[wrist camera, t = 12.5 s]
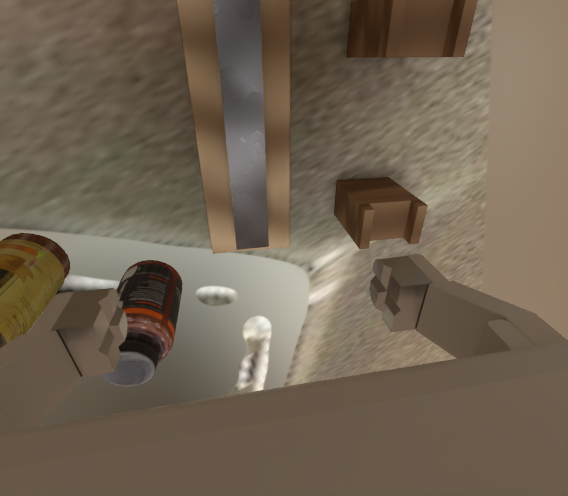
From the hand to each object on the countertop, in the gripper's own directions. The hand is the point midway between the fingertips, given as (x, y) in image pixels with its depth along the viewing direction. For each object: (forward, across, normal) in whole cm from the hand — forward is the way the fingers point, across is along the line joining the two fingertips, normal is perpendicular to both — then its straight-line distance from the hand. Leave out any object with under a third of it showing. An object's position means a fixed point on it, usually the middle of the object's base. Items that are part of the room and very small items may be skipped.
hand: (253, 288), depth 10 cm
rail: (+20, -1, -1) cm, 20 cm away
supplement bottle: (+21, +10, +14) cm, 27 cm away
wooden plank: (+21, -1, -1) cm, 21 cm away
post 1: (+21, -13, -8) cm, 26 cm away
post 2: (+21, -12, +6) cm, 25 cm away
